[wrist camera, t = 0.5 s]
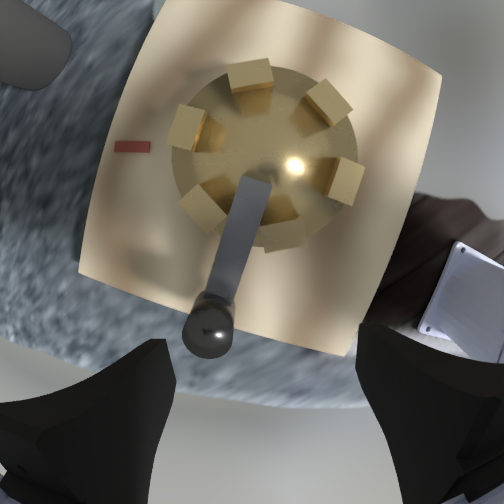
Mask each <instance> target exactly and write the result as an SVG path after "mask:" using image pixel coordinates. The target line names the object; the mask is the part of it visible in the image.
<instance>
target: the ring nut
mask: <svg viewBox="0 0 504 504" xmlns="http://www.w3.org/2000/svg"><path fill="white" fill-rule="evenodd" d="M226 69H227V73H226V74H224V75H222V76H220V77H218V78H216V79H214V80H213V81H211V82H210V83H209V84H207V85H206V86H204V87H203V88H202V89H201V90H200V91H199V92H198V93H197V94H196V95H195V96H194V97H193V98H192V100H191V101H190V102H189V103H188V105H183V104H179V106H178V109H177V111H176V114H175V117H174V120H173V123H172V125H171V128H170V131H169V134H168V137H167V140H166V143H165V144H167V145H170V146H172V168H173V175H174V178H175V182H176V185H177V188H178V190H179V192H180V195H181V197H182V199H181V200H180V201H179V202H178V204H179V205H180V206H181V207H182V208H183V209H184V210H185V211H186V212H187V213H188V215H189V216H190V217H191V218H192V219H193V220H194V221H195V222H196V223H197V224H198V226H199V227H200V228H201V229H202V230H203V231H204V232H205V233H206V234H208V233H209V232H210V231H211V230H212V231H213V232H215V233H216V234H218V235H220V236H222V237H221V240H220V243H219V246H218V249H217V253H216V256H215V259H214V262H213V265H212V269H211V272H210V275H209V278H208V282H207V285H206V288H205V290H204V291H202V292H201V293H200V294H199V295H198V296H197V298H196V299H195V302H194V304H193V306H192V309H191V311H190V313H189V316H188V318H187V321H186V323H185V325H184V328H183V331H182V339H183V342H184V344H185V346H186V348H187V349H188V350H189V351H190V352H191V353H193V354H194V355H196V356H198V357H201V358H206V359H214V358H218V357H221V356H223V355H224V354H225V353H227V352H228V350H229V349H230V347H231V345H232V340H233V331H234V321H235V311H236V306H235V302H234V298H235V295H236V292H237V289H238V286H239V283H240V280H241V277H242V274H243V271H244V268H245V266H246V263H247V260H248V257H249V254H250V251H251V248H252V246H255V247H264V251H265V253H270V252H275V251H280V250H285V249H290V248H295V247H300V246H305V245H307V240H306V238H308V237H309V236H311V235H313V234H315V233H316V232H318V231H319V230H321V229H322V228H323V227H325V226H326V225H327V224H328V223H329V222H330V221H331V220H332V219H333V218H334V217H335V216H336V215H337V214H338V213H339V211H340V210H341V209H342V207H343V206H344V204H346V205H349V206H352V205H353V202H354V199H355V197H356V194H357V191H358V188H359V185H360V182H361V179H362V176H363V173H364V170H365V167H364V166H362V165H360V164H358V149H357V142H356V137H355V133H354V130H353V127H352V124H351V122H350V120H349V117H348V116H347V114H349V113H350V112H351V111H353V108H352V107H351V106H350V105H349V104H348V102H347V101H346V100H345V99H344V98H343V97H342V96H341V94H340V93H339V92H338V91H337V90H336V89H335V88H334V87H333V85H332V84H331V83H330V82H329V81H328V80H327V79H326V78H325V79H323V80H322V81H321V82H319V83H318V82H317V81H315V80H313V79H311V78H310V77H308V76H306V75H304V74H301V73H299V72H297V71H294V70H290V69H287V68H283V67H276V66H270V62H269V58H264V59H257V60H251V61H245V62H240V63H234V64H229V65H226Z"/></svg>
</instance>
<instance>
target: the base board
mask: <svg viewBox="0 0 504 504" xmlns="http://www.w3.org/2000/svg"><path fill="white" fill-rule="evenodd" d="M264 58H269V62H270V66H276V67H283V68H287V69H290V70H294V71H297V72H299V73H301V74H304V75H306V76H308V77H310V78H311V79H313V80H315V81H317V82H318V83H319V82H321V81H322V80H323V79H325V78H326V79H327V80H328V81H329V82H330V83H331V84H332V85H333V87H334V88H335V89H336V90H337V91H338V92H339V93H340V94H341V96H342V97H343V98H344V99H345V100H346V101H347V102H348V104H349V105H350V106H351V107H352V108H353V111H351V112H350V113H349V114H347V116H348V117H349V120H350V122H351V124H352V127H353V130H354V133H355V137H356V142H357V149H358V164H360V165H362V166H364V167H365V170H364V173H363V176H362V179H361V182H360V185H359V188H358V191H357V194H356V197H355V199H354V202H353V205H352V206H349V205H346V204H344V206H343V207H342V209H341V210H340V211H339V213H338V214H337V215H336V216H335V217H334V218H333V219H332V220H331V221H330V222H329V223H328V224H327V225H326V226H325V227H323V228H322V229H321V230H319V231H318V232H316V233H315V234H313V235H311V236H309V237H308V238H306V240H307V245H305V246H300V247H295V248H290V249H285V250H280V251H275V252H270V253H265V251H264V247H255V246H252V248H251V251H250V254H249V257H248V260H247V263H246V266H245V268H244V271H243V274H242V277H241V280H240V283H239V286H238V289H237V292H236V295H235V298H234V302H235V306H236V311H235V321H234V328H236V329H239V330H242V331H246V332H249V333H253V334H256V335H260V336H264V337H267V338H271V339H275V340H278V341H282V342H286V343H290V344H294V345H298V346H302V347H306V348H310V349H314V350H318V351H322V352H326V353H331V354H335V355H340V356H345V354H346V352H347V350H348V348H349V346H350V345H351V343H352V341H353V339H354V337H355V335H356V333H357V331H358V329H359V323H362V321H363V319H364V317H365V314H366V312H367V310H368V308H369V306H370V304H371V302H372V299H373V297H374V295H375V293H376V291H377V288H378V286H379V284H380V281H381V279H382V277H383V274H384V272H385V270H386V267H387V265H388V262H389V260H390V258H391V255H392V253H393V250H394V247H395V245H396V242H397V240H398V237H399V234H400V232H401V229H402V226H403V223H404V221H405V218H406V215H407V212H408V209H409V206H410V203H411V200H412V197H413V194H414V191H415V187H416V184H417V181H418V178H419V174H420V171H421V167H422V164H423V160H424V157H425V153H426V149H427V146H428V142H429V138H430V134H431V130H432V125H433V121H434V116H435V112H436V107H437V102H438V97H439V92H440V86H441V80H442V76H441V75H440V74H438V73H437V72H435V71H434V70H432V69H431V68H429V67H427V66H426V65H424V64H423V63H421V62H419V61H418V60H416V59H414V58H413V57H411V56H409V55H408V54H406V53H404V52H402V51H400V50H399V49H397V48H395V47H393V46H391V45H389V44H387V43H385V42H383V41H382V40H380V39H378V38H375V37H373V36H371V35H369V34H367V33H365V32H362V31H361V30H358V29H356V28H354V27H352V26H349V25H347V24H345V23H342V22H340V21H337V20H335V19H332V18H329V17H327V16H324V15H322V14H319V13H316V12H313V11H310V10H308V9H304V8H301V7H298V6H295V5H292V4H289V3H285V2H282V1H278V0H166V1H165V3H164V5H163V7H162V9H161V10H160V12H159V14H158V16H157V18H156V20H155V22H154V24H153V25H152V27H151V29H150V31H149V33H148V35H147V37H146V40H145V42H144V44H143V46H142V48H141V50H140V52H139V55H138V57H137V59H136V61H135V64H134V66H133V68H132V71H131V73H130V75H129V78H128V80H127V83H126V85H125V88H124V90H123V93H122V96H121V98H120V101H119V104H118V107H117V109H116V112H115V115H114V118H113V121H112V124H111V127H110V130H109V133H108V136H107V140H106V143H105V146H104V150H103V153H102V157H101V160H100V164H99V168H98V171H97V175H96V179H95V183H94V188H93V192H92V196H91V201H90V206H89V210H88V215H87V220H86V226H85V231H84V237H83V243H82V250H81V256H80V264H79V272H78V273H81V274H83V275H85V276H88V277H90V278H93V279H95V280H98V281H100V282H103V283H105V284H108V285H110V286H113V287H115V288H118V289H121V290H123V291H126V292H128V293H131V294H134V295H136V296H139V297H142V298H145V299H147V300H150V301H153V302H156V303H159V304H161V305H164V306H167V307H170V308H173V309H176V310H179V311H182V312H185V313H188V314H189V313H190V311H191V309H192V306H193V304H194V302H195V299H196V298H197V296H198V295H199V294H200V293H201V292H202V291H204V290H205V288H206V285H207V282H208V278H209V275H210V272H211V269H212V265H213V262H214V259H215V256H216V253H217V249H218V246H219V243H220V240H221V237H222V236H220V235H218V234H216V233H215V232H213V231H212V230H211V231H210V232H209V233H208V234H206V233H205V232H204V231H203V230H202V229H201V228H200V227H199V226H198V224H197V223H196V222H195V221H194V220H193V219H192V218H191V217H190V216H189V215H188V213H187V212H186V211H185V210H184V209H183V208H182V207H181V206H180V205H179V204H178V202H179V201H180V200H181V199H182V197H181V195H180V192H179V190H178V188H177V185H176V182H175V178H174V175H173V168H172V146H170V145H167V144H165V143H166V140H167V137H168V134H169V131H170V128H171V125H172V123H173V120H174V117H175V114H176V111H177V109H178V106H179V104H183V105H188V103H189V102H190V101H191V100H192V98H193V97H194V96H195V95H196V94H197V93H198V92H199V91H200V90H201V89H202V88H203V87H204V86H206V85H207V84H209V83H210V82H211V81H213V80H214V79H216V78H218V77H220V76H222V75H224V74H226V73H227V69H226V65H229V64H234V63H240V62H245V61H251V60H257V59H264Z"/></svg>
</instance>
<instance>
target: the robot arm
mask: <svg viewBox="0 0 504 504" xmlns="http://www.w3.org/2000/svg"><path fill="white" fill-rule="evenodd" d="M462 248H463V249H462ZM461 249H462V252H461ZM428 326H429V327H428ZM427 327H428V329H426V328H427ZM418 331H419V332H420V333H423V334H427V335H431V336H435V337H439V338H442V339H446V340H450V341H453V342H455V343H456V344H457V345H458V346H459V347H460V348H461V349H462V350H463V351H464V352H465V353H466V354H467V355H468V356H469V357H471V358H472V359H473V360H471V359H466V358H462V357H458V356H455V355H451V354H448V353H445V352H442V351H439V350H436V349H433V348H431V347H429V346H426V345H424V344H421V343H419V342H417V341H415V340H413V339H410V338H408V337H406V336H404V335H402V334H400V333H398V332H396V331H394V330H392V329H390V328H388V327H386V326H384V325H382V324H380V323H377V322H375V321H373V322H366V323H359V331H358V344H357V355H356V365H355V369H356V372H357V375H358V378H359V381H360V384H361V387H362V390H363V392H364V394H365V396H366V398H367V400H368V402H369V404H370V406H371V408H372V410H373V412H374V414H375V416H376V418H377V420H378V422H379V424H380V426H381V428H382V430H383V433H384V435H385V437H386V440H387V443H388V446H389V449H390V452H391V456H392V459H393V463H394V466H395V470H396V473H397V477H398V482H399V486H400V491H401V495H402V501H403V504H504V267H503V266H502V265H500V264H498V263H497V262H495V261H493V260H492V259H490V258H488V257H486V256H485V255H483V254H481V253H479V252H478V251H476V250H474V249H472V248H471V247H469V246H467V245H465V244H463V243H461V242H459V241H456V242H455V243H454V244H453V247H452V249H451V252H450V255H449V257H448V260H447V262H446V265H445V267H444V270H443V272H442V275H441V277H440V279H439V282H438V284H437V286H436V289H435V291H434V293H433V295H432V298H431V300H430V302H429V304H428V306H427V308H426V310H425V312H424V314H423V317H422V319H421V321H420V323H419V325H418ZM175 387H176V378H175V374H174V370H173V367H172V363H171V359H170V355H169V351H168V347H167V343H166V339H150V340H148V341H146V342H144V343H143V344H141V345H140V346H138V347H137V348H135V349H134V350H132V351H131V352H129V353H128V354H126V355H125V356H123V357H122V358H120V359H119V360H118V361H116V362H115V363H113V364H111V365H110V366H108V367H106V368H105V369H103V370H101V371H100V372H98V373H97V374H95V375H93V376H91V377H89V378H87V379H86V380H83V381H81V382H79V383H77V384H75V385H72V386H70V387H67V388H64V389H62V390H59V391H56V392H53V393H51V394H47V395H43V396H40V397H35V398H31V399H26V400H21V401H12V402H4V403H0V463H1V464H2V466H3V467H4V468H5V469H6V470H7V472H6V474H5V475H4V477H3V476H2V475H1V474H0V504H147V503H148V493H149V486H150V479H151V473H152V468H153V463H154V458H155V454H156V450H157V446H158V443H159V441H160V437H161V435H162V432H163V429H164V426H165V423H166V420H167V418H168V415H169V412H170V409H171V406H172V403H173V398H174V393H175Z"/></svg>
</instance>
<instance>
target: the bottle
mask: <svg viewBox="0 0 504 504" xmlns="http://www.w3.org/2000/svg"><path fill="white" fill-rule="evenodd" d="M71 47H72V42H71V37H70V35H69V34H68V33H67V32H66V31H65V30H64V29H63V28H61V27H60V26H58V25H57V24H56V23H54V22H53V21H51V20H50V19H48V18H47V17H45V16H44V15H42V14H41V13H39V12H38V11H36V10H35V9H33V8H32V7H30V6H29V5H27V4H26V3H24V2H22V1H21V0H0V82H2V83H5V84H9V85H13V86H16V87H20V88H23V89H27V90H33V91H34V90H39V89H42V88H44V87H45V86H47V85H48V84H50V83H51V82H52V81H53V80H54V79H55V78H56V77H57V76H58V75H59V74H60V72H61V71H62V69H63V68H64V66H65V65H66V63H67V61H68V58H69V56H70V52H71Z"/></svg>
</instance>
